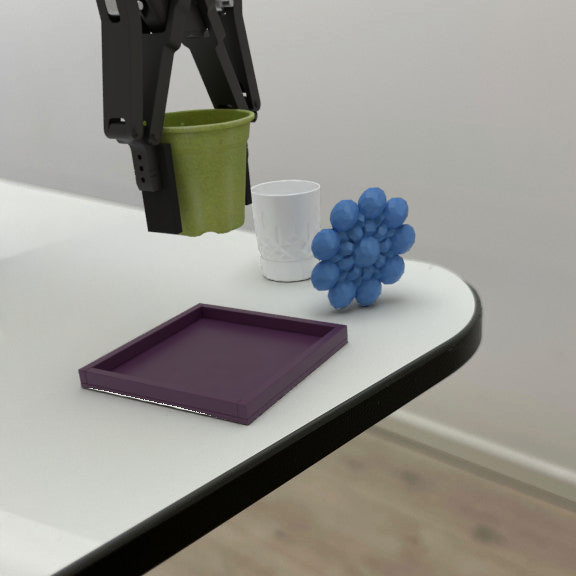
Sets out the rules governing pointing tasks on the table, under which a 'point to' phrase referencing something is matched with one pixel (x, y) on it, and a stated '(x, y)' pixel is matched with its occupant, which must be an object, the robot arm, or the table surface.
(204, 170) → the plant pot
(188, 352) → the tray
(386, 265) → the blue flower ornament
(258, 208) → the white cup
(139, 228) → the table surface
